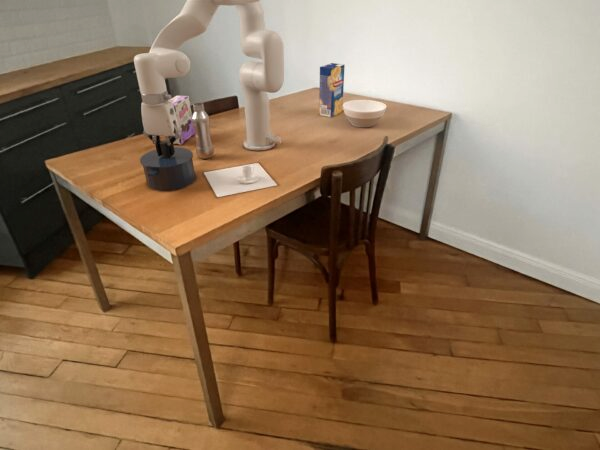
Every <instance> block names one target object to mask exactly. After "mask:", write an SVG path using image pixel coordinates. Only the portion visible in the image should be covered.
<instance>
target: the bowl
mask: <svg viewBox="0 0 600 450" xmlns="http://www.w3.org/2000/svg"><path fill="white" fill-rule="evenodd" d="M342 106H343V109H342V110H343V112H344V115H345V116H346V118H347V121H348V122H349V123H350V124H351V125H352V126H353V127H357V128H371V127H374V126H375V125H376V124H377V123H379V121H380V120H381V118H382V117H383V115H384V114H385V111H386V109H387V108H388V107H387V104H385V103H384V102H381V101H378V100H373V99H353V100H347V101H345V102H343V105H342Z"/></svg>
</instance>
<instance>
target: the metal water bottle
mask: <svg viewBox="0 0 600 450" xmlns="http://www.w3.org/2000/svg"><path fill="white" fill-rule="evenodd" d="M192 107H193V108H192V110H193V112H192V117H191V121H192V125H193V128H194V132H195V134H194V137H195V145H196V146H195V152H196V155H197V157H198V158H200V159H203V160H204V159H210V158H212V157H213V156H214V154H215V148H214V146H213V142H212V138H211V130H210V116H209V114H208V113H207V112H206V111H205V104H204V102H195V103H193V104H192Z"/></svg>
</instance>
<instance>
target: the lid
mask: <svg viewBox="0 0 600 450" xmlns="http://www.w3.org/2000/svg"><path fill="white" fill-rule="evenodd" d="M159 143H160V148H161V153H162V155H161V156H158V153H157V151H156V149H153V150H150V151H148V152H146V153H144V154H143V155H141V156H140V158H139V162H140V164H141V166H142V167H143V166H145V167H148V168H154V169H164V168H172V167H176V166H180V165H183V164H185V163H187V162H189V161H190V160H191V159H192V160H193V157H194V154H193V153H194V152H193V151H191V150H190V149H188V148H185V147H181V146H180V147H179V146H174V150H175V153H174V155H173V156H171V157H168V155H167V149H166V145H167V142H166V139H164V140H161V141H160V142H159Z"/></svg>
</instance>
